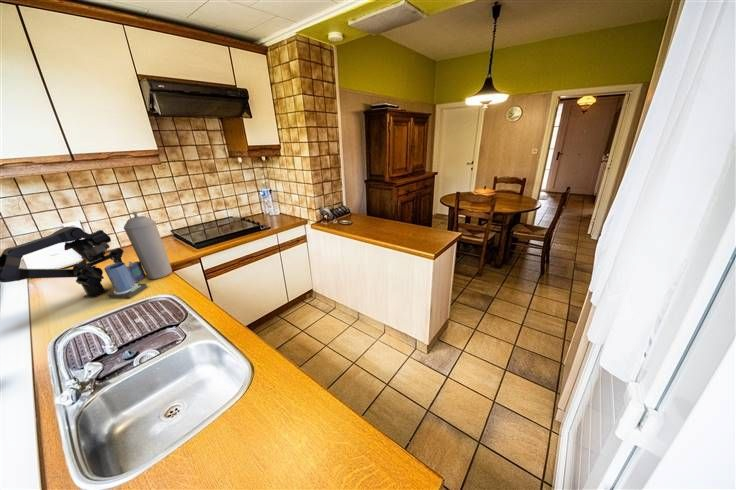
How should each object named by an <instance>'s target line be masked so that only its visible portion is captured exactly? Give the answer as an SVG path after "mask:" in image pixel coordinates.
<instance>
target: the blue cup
mask: <svg viewBox="0 0 736 490" xmlns="http://www.w3.org/2000/svg"><path fill="white" fill-rule="evenodd" d="M127 266H128V265H127V264H126V263H125V262H123V261H122V262H120V263H112V264H109V265H107V266H106V267H104V272H105V273H106V276H107V278H108V279H109V282H110V283H111V285H112V287H113V289H114V290H115V291H116V292H123V291H127V290H129V289H131V288H133V287H134V286H135V284H134V281H133V279H132V277H131V275H130V273H129V271H128V268H127Z"/></svg>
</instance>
